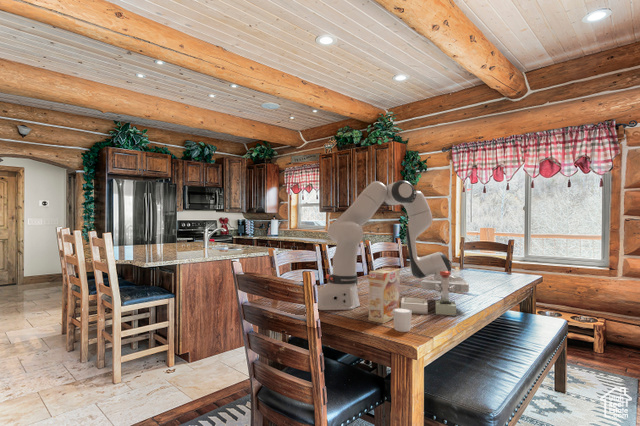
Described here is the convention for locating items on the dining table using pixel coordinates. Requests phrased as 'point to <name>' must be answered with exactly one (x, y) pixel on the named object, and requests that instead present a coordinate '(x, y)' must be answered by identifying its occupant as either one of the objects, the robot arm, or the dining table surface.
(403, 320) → the shot glass
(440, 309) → the socket block
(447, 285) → the pin
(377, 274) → the coffeecake box
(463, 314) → the dining table surface
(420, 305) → the tray
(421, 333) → the dining table surface
